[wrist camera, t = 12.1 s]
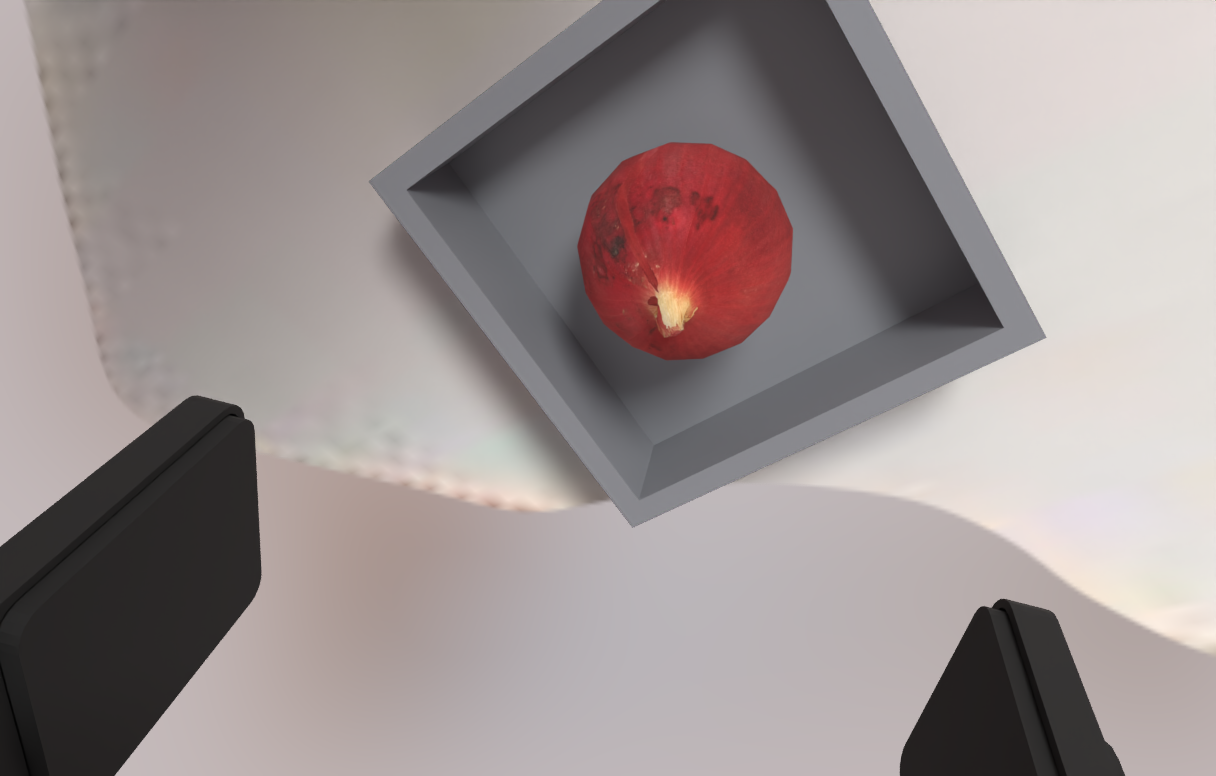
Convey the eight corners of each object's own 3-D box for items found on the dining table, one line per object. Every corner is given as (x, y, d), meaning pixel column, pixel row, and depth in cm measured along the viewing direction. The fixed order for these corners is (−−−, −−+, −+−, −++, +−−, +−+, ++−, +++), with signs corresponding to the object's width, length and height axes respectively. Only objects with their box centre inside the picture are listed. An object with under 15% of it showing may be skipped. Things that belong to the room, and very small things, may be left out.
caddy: (426, 148, 28) (368, 181, 24) (790, -130, 23) (791, -146, 19) (651, 456, 32) (632, 527, 28) (1008, 280, 27) (1046, 337, 23)
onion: (569, 217, 28) (495, 311, 21) (690, 76, 25) (653, 128, 18) (701, 335, 29) (674, 462, 22) (831, 211, 26) (848, 310, 19)
